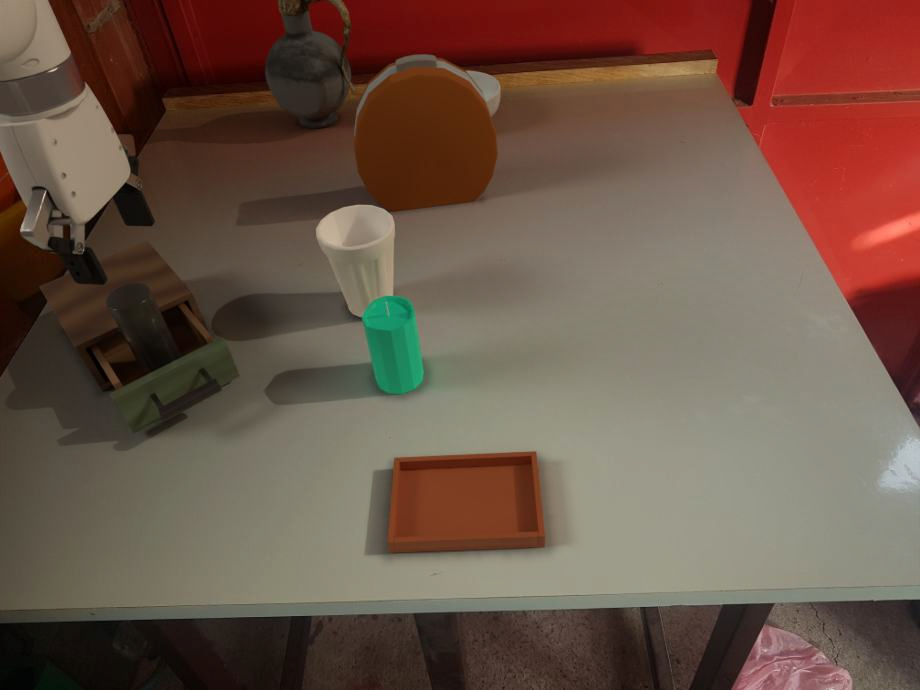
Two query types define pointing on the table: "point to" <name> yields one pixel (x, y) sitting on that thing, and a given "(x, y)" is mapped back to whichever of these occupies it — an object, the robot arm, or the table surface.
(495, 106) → the cereal bowl
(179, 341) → the drawer
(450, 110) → the alarm clock
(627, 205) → the table surface
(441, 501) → the tray
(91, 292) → the cabinet
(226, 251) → the table surface
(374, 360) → the candle
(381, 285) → the cup
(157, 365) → the cylinder
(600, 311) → the table surface
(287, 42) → the pitcher
